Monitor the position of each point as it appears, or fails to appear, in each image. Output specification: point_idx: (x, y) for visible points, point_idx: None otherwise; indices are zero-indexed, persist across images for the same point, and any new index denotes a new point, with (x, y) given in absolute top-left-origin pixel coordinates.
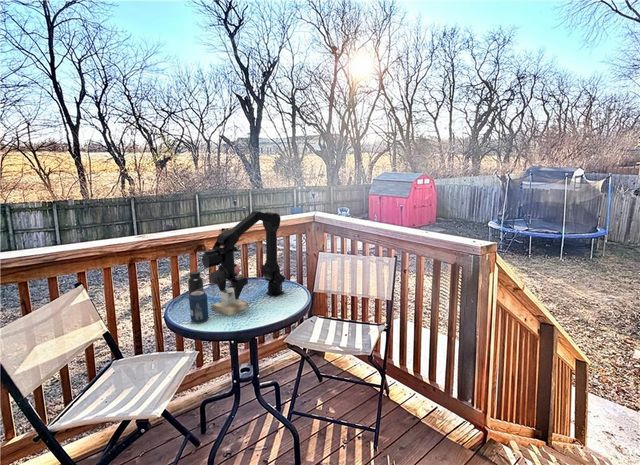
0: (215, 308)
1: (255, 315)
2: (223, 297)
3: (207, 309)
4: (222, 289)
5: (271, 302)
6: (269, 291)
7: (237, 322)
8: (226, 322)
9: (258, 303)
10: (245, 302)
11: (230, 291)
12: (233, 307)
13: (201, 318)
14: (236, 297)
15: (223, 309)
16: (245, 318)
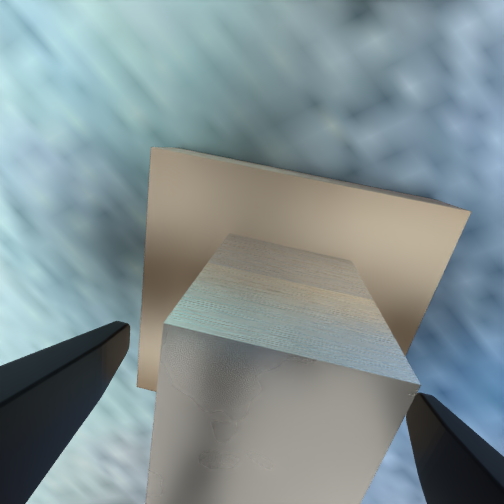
0: (390, 192)
1: (11, 258)
2: (308, 295)
3: None
4: (466, 491)
5: (93, 458)
6: None
7: (9, 70)
8: (89, 9)
9: (152, 427)
10: (155, 377)
11: (197, 433)
12: (167, 243)
13: None
14: (84, 336)
15: (242, 164)
16: (24, 177)
